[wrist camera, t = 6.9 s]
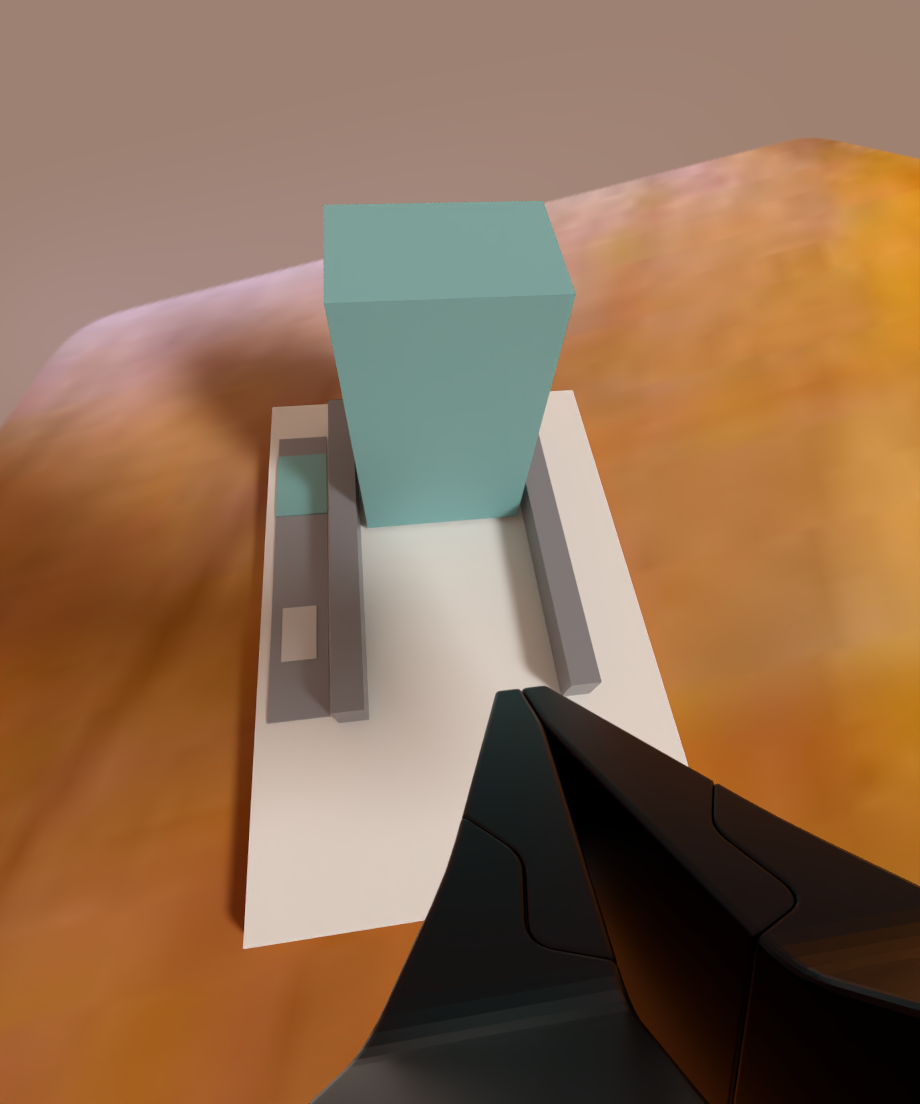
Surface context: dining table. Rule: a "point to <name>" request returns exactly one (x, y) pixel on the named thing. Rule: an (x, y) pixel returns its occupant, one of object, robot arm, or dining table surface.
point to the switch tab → (444, 350)
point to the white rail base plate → (417, 667)
